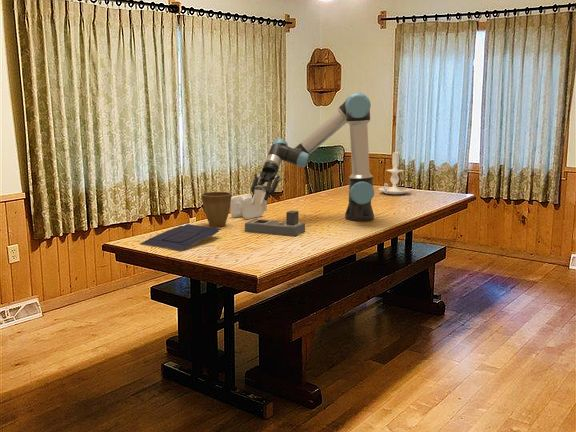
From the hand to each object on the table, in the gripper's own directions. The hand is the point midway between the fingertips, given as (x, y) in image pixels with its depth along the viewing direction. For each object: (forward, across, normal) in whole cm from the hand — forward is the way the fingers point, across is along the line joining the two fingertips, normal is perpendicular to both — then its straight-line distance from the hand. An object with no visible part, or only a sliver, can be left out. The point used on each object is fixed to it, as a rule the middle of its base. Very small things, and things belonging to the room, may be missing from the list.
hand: (257, 204), depth 288 cm
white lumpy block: (-12, +20, -31) cm, 39 cm away
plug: (0, 0, -5) cm, 5 cm away
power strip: (+6, -8, -12) cm, 16 cm away
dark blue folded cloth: (+31, +22, +11) cm, 40 cm away
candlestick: (-87, -32, -105) cm, 140 cm away
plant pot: (+6, +24, -13) cm, 28 cm away
